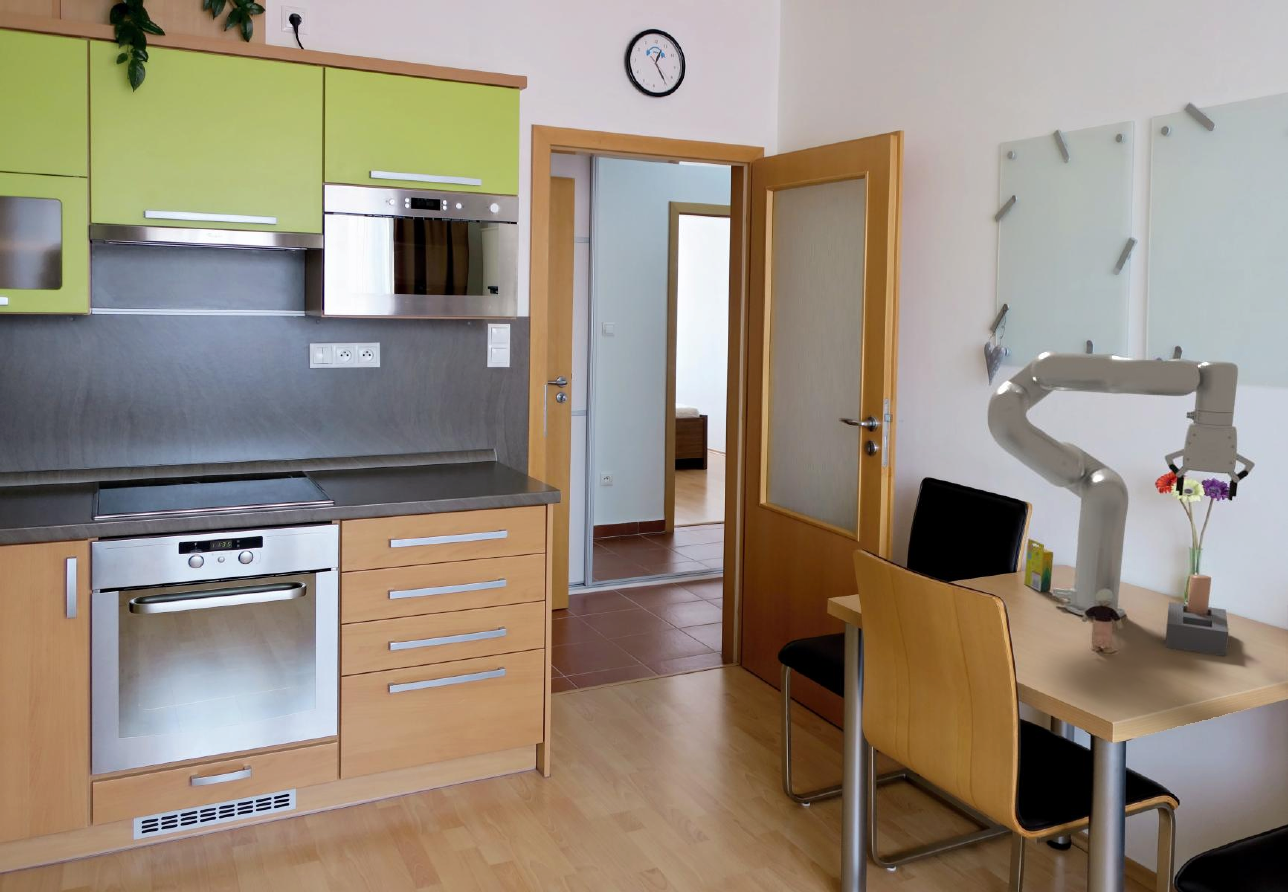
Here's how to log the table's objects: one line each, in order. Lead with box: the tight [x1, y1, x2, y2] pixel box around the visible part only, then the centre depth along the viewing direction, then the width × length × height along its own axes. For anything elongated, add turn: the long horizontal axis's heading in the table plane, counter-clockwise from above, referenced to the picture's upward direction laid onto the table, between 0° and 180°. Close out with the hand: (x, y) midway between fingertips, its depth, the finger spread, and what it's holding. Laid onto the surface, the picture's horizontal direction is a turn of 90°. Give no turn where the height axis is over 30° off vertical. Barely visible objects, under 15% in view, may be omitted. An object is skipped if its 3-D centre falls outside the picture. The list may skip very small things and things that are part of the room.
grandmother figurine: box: [1081, 589, 1124, 654], centre depth 220 cm, size 8×4×13 cm, turn 71°
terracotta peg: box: [1186, 573, 1212, 615], centre depth 232 cm, size 4×4×11 cm
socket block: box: [1165, 601, 1229, 657], centre depth 229 cm, size 11×18×5 cm, turn 154°
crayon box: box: [1024, 538, 1054, 593], centre depth 266 cm, size 7×3×12 cm, turn 11°
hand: (1205, 497), depth 237 cm, fingers open, 9 cm apart
